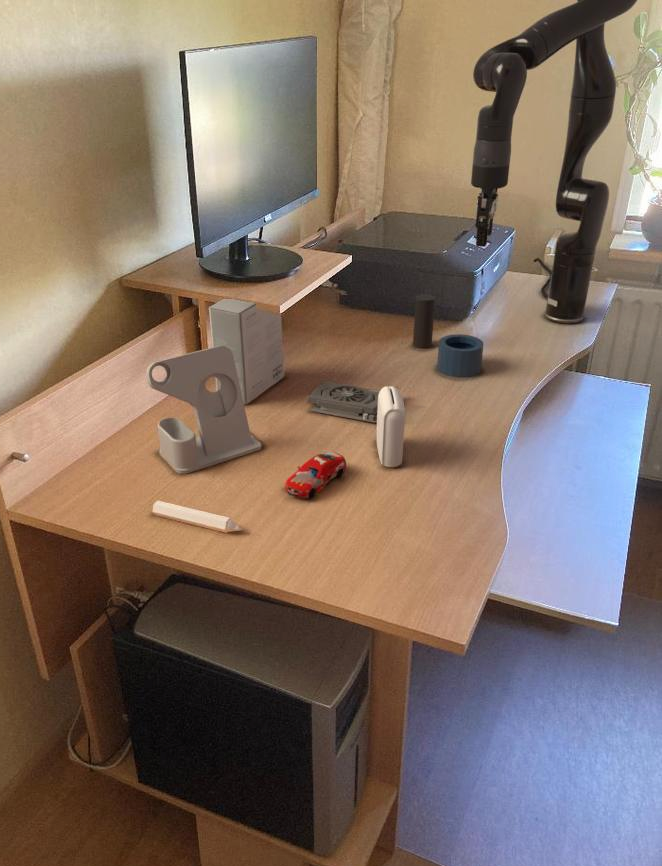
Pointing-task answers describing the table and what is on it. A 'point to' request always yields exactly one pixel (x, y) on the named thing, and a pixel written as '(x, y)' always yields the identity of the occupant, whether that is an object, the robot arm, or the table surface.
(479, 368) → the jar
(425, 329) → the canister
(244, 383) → the hard drive box
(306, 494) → the race car
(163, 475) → the table surface
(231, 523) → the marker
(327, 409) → the graphics card
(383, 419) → the photo printer
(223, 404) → the phone holder
